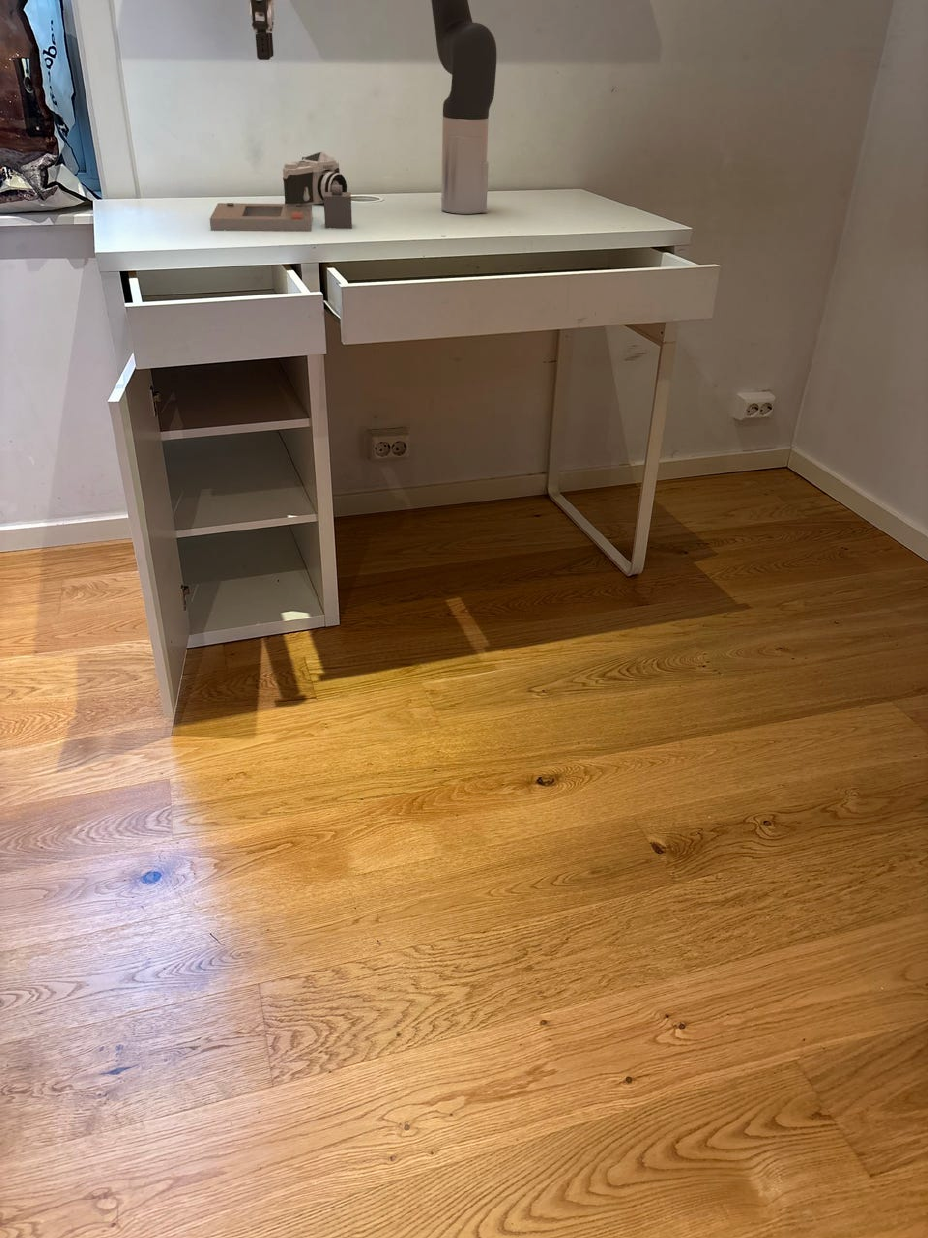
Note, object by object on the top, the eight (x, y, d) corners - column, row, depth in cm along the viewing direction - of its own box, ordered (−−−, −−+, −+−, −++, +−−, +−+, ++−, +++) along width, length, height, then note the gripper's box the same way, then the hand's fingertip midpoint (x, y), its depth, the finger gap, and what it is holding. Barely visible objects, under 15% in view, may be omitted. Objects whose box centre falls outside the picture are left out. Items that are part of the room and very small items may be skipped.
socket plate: (312, 217, 185) (311, 200, 183) (311, 234, 172) (310, 215, 170) (219, 216, 182) (217, 199, 181) (211, 233, 170) (209, 214, 168)
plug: (351, 226, 179) (350, 183, 175) (351, 231, 176) (350, 187, 172) (325, 225, 179) (323, 183, 175) (325, 230, 175) (323, 187, 171)
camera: (309, 212, 190) (306, 157, 184) (277, 206, 193) (273, 153, 188) (359, 202, 201) (357, 150, 195) (328, 196, 205) (326, 146, 199)
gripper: (277, -58, 148) (285, 61, 157) (282, -55, 160) (289, 56, 169) (229, -60, 147) (240, 60, 156) (237, -56, 159) (247, 55, 168)
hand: (265, 58), depth 163 cm, fingers open, 8 cm apart
